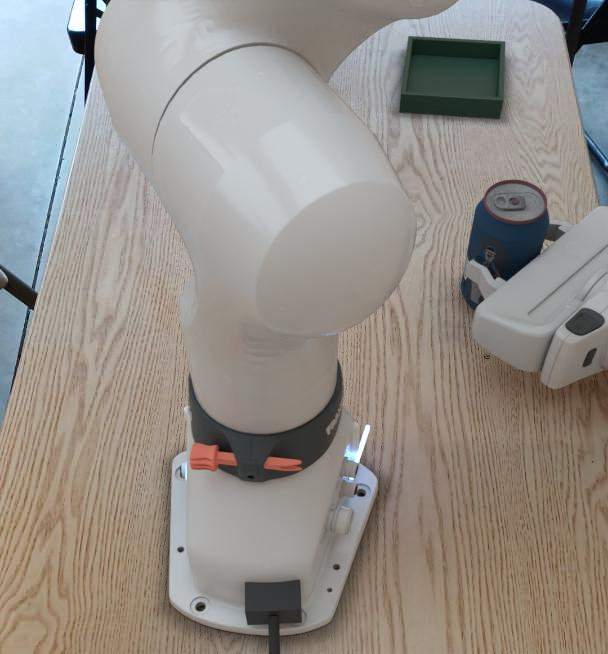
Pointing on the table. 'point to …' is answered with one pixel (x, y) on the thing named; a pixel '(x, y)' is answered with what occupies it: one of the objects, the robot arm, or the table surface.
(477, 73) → the serving tray
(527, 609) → the table surface
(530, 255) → the soda can
